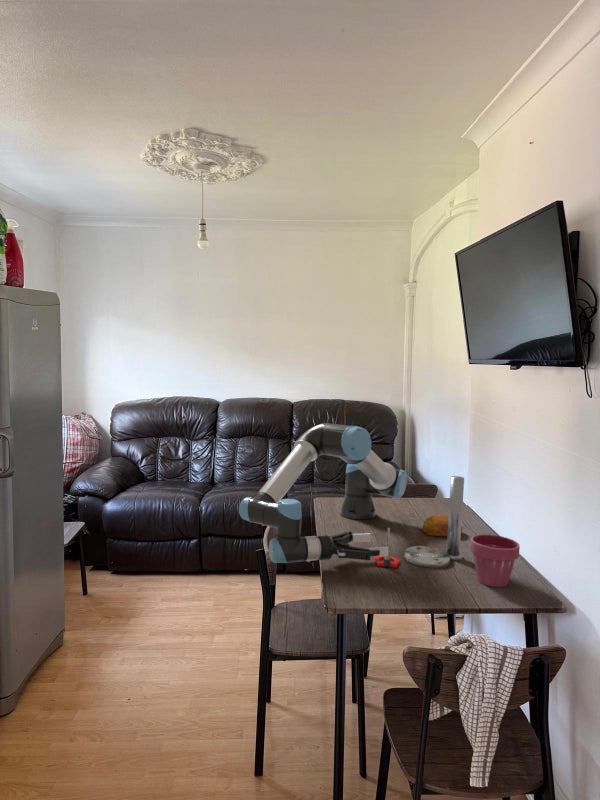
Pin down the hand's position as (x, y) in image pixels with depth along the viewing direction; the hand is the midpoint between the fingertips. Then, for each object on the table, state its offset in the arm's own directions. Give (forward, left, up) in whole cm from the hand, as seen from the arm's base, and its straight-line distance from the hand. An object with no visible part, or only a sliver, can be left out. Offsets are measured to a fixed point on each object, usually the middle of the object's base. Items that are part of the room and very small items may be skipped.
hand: (378, 543), depth 186 cm
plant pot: (+20, +29, -7) cm, 36 cm away
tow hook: (-1, +3, -7) cm, 8 cm away
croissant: (-26, +39, -7) cm, 48 cm away
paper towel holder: (-1, +21, -7) cm, 22 cm away
